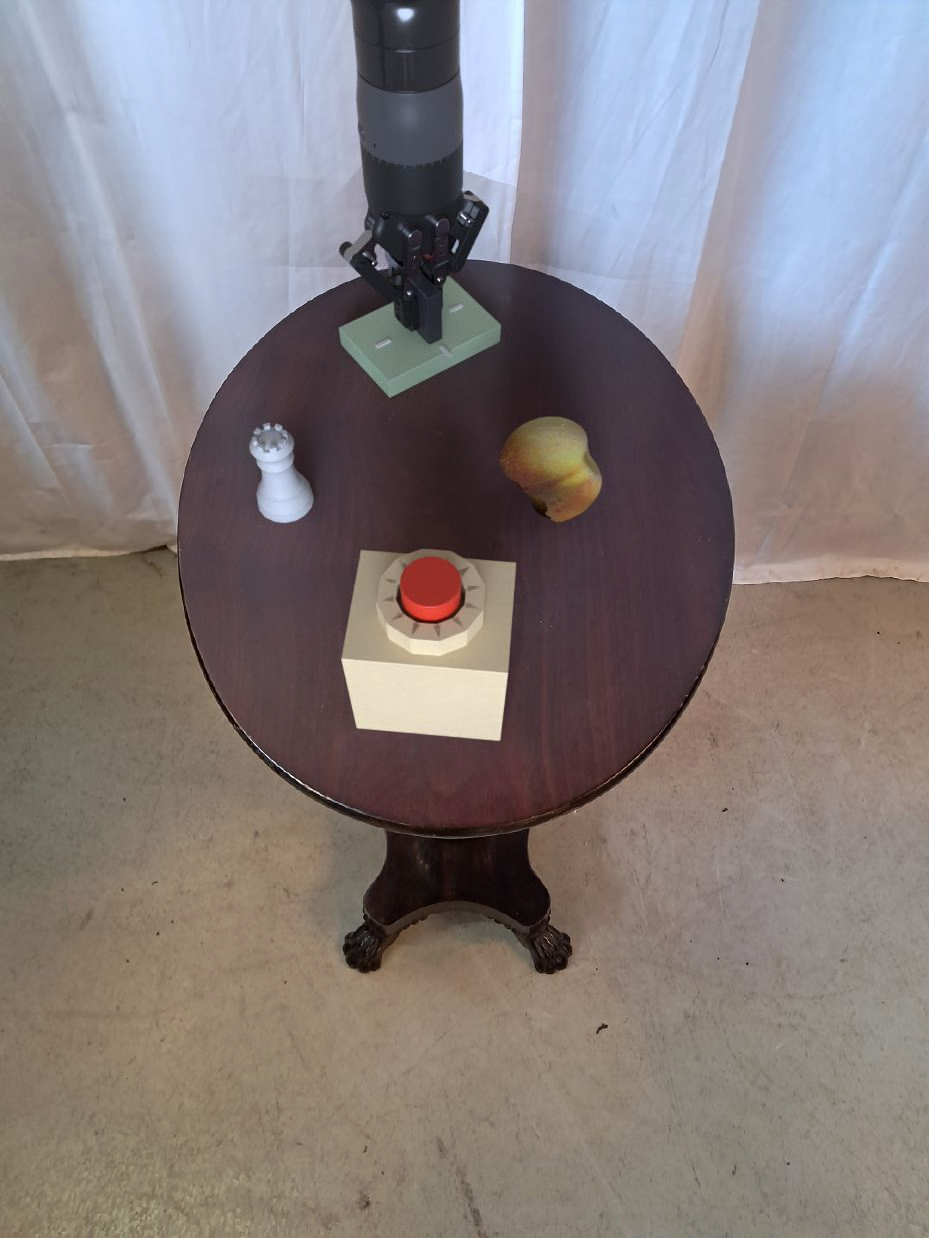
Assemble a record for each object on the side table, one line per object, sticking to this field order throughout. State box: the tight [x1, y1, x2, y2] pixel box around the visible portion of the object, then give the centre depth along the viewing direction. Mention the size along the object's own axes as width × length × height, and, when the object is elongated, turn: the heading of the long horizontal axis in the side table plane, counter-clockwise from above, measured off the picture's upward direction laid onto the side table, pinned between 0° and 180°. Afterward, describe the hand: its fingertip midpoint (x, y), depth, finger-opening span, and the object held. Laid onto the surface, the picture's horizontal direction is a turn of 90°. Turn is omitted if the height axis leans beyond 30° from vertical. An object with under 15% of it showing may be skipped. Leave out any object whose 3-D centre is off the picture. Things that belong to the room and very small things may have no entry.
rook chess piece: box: [248, 422, 315, 524], centre depth 70 cm, size 4×4×8 cm
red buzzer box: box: [340, 548, 517, 742], centre depth 60 cm, size 10×8×12 cm
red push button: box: [400, 557, 461, 622], centre depth 54 cm, size 4×4×2 cm
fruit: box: [498, 416, 603, 523], centre depth 70 cm, size 8×8×8 cm
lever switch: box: [338, 275, 502, 398], centre depth 81 cm, size 12×9×2 cm
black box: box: [416, 271, 442, 345], centre depth 78 cm, size 5×1×5 cm, turn 35°
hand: (419, 320), depth 80 cm, fingers closed
